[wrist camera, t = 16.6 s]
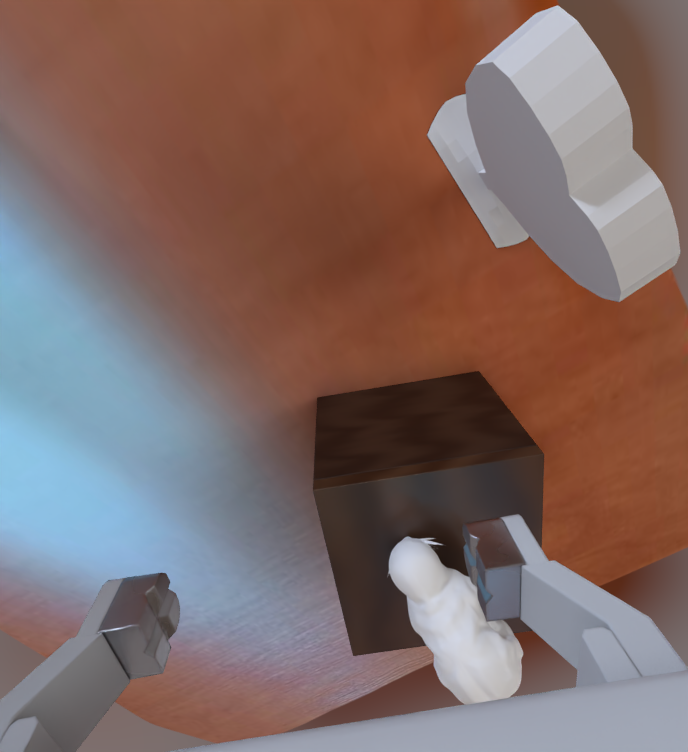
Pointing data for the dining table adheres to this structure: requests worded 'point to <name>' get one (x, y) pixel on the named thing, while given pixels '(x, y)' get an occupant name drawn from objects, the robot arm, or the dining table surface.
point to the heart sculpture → (558, 159)
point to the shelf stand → (415, 489)
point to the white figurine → (456, 625)
